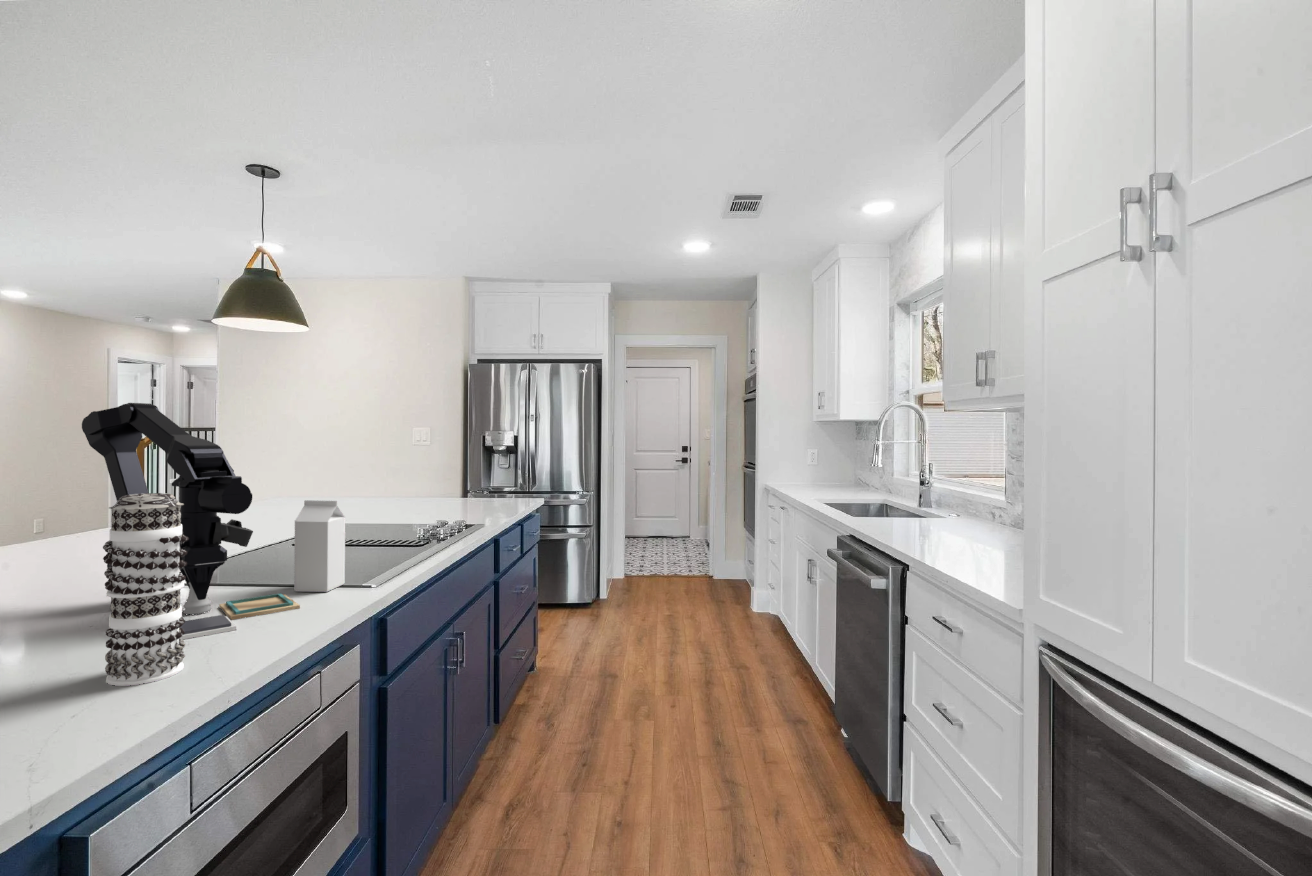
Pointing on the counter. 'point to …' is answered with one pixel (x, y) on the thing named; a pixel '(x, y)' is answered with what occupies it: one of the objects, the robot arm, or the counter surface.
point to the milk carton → (319, 547)
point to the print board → (258, 606)
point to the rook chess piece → (196, 604)
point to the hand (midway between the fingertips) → (197, 594)
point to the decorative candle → (145, 589)
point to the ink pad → (207, 626)
